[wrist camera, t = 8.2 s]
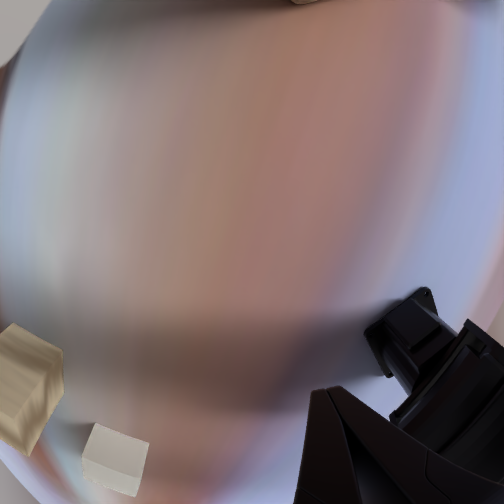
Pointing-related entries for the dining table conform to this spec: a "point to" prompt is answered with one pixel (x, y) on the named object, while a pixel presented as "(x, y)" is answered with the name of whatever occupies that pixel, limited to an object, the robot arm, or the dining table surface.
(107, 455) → the white block
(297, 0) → the block
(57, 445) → the dining table surface
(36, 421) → the maple block
